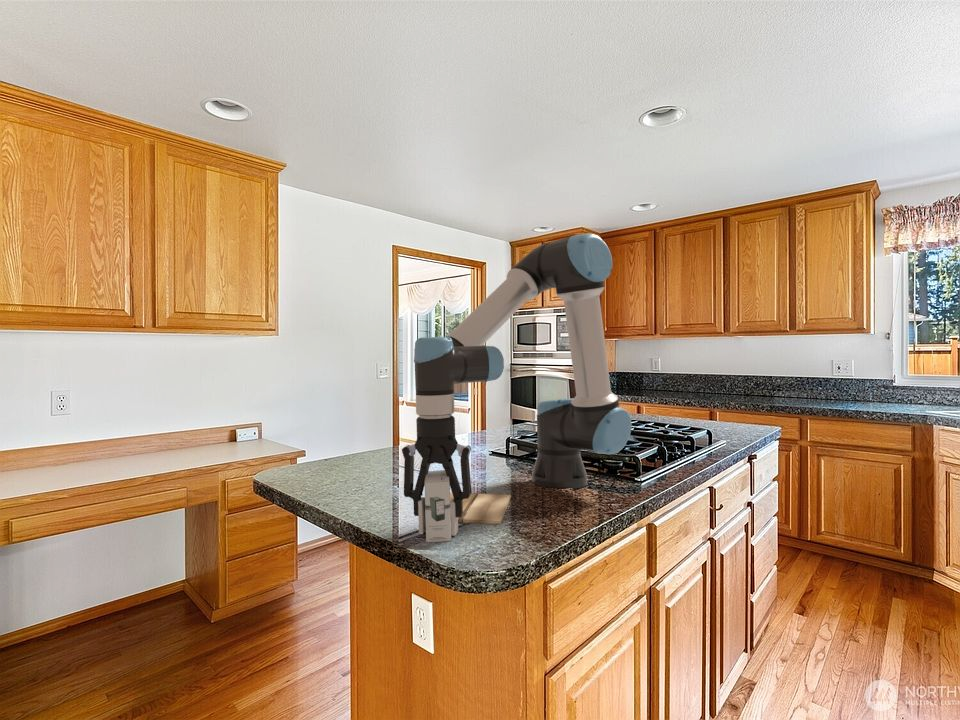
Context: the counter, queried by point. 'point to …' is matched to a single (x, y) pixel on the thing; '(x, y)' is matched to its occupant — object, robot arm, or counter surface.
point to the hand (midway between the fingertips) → (438, 532)
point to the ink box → (437, 506)
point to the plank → (487, 509)
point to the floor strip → (465, 504)
